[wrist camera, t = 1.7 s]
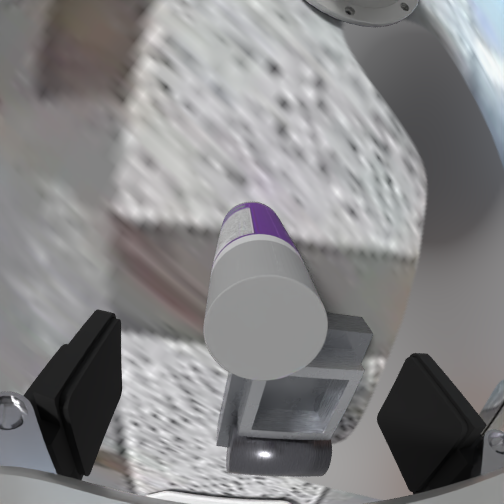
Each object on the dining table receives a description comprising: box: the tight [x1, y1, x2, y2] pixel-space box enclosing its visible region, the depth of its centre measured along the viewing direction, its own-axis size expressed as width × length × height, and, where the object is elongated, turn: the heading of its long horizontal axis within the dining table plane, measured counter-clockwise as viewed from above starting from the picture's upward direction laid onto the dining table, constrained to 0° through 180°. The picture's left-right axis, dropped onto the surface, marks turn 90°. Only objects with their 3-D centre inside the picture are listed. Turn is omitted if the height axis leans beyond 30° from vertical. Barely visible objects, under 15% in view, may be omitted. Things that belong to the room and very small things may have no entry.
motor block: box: [217, 313, 373, 476], centre depth 26 cm, size 16×11×8 cm
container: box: [204, 202, 328, 381], centre depth 18 cm, size 5×5×15 cm
